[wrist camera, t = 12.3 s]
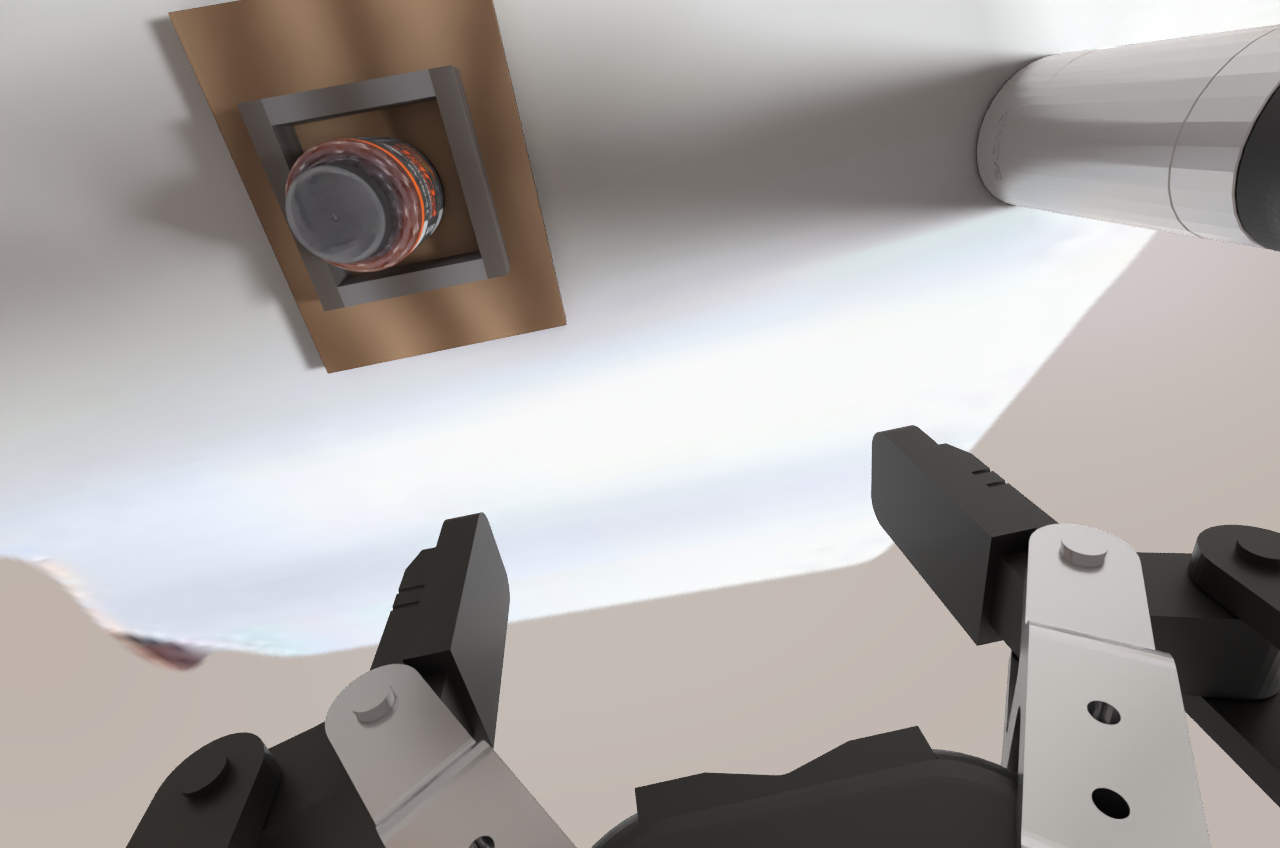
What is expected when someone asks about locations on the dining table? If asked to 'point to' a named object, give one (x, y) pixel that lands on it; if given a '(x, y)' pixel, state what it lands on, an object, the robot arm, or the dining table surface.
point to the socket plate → (398, 108)
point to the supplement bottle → (363, 201)
